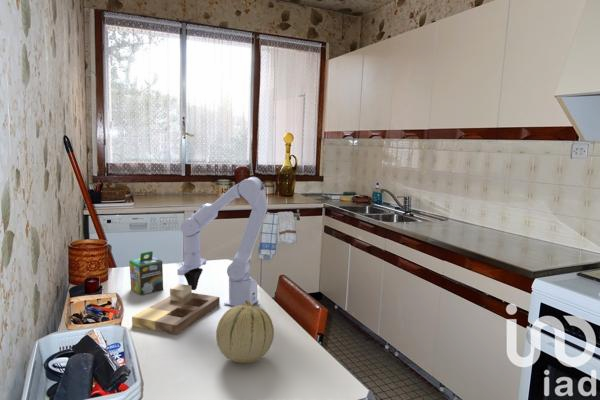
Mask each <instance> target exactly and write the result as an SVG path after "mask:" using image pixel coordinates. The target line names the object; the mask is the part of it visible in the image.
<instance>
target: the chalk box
mask: <svg viewBox="0 0 600 400" xmlns="http://www.w3.org/2000/svg"><path fill="white" fill-rule="evenodd" d="M153 253H154V252H153V251H146V252H141V254H140V258H135V259H130V260H129V261H128V262H129V278H130V289H131V291H133V292H135V293H136V294H138V295H140V296H144V295H148V294H151V293H152V294H153V293H156V292H161V291H164V271H163V260H161V259H160V258H157V257H155V256H153Z"/></svg>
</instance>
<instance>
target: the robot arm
mask: <svg viewBox="0 0 600 400" xmlns="http://www.w3.org/2000/svg"><path fill="white" fill-rule="evenodd" d="M240 198H244V200H246V201H247V203H248V204H249V205H250V207H251V212H250V215H249V217H248V220H247V223H246V225H245V229H244V233H243V234H242V237H241V240H240V244H239V246H238V249H237V251H236V253H235V255H234V258H233V259H232V262H231V263H230V264H229V265H228V267H227V269H226V273H227V276H228V300H226V301H225V302H224V303H223V304H224V305H226V306H231V307H234V306H237V305H246V304H247V303H246V302H245V301H249V302H250V303H251V305H253V306H254V304H256V303H257V302H258V301H259V299H258V281H257V280H256V279H253V278H251V275H250V273H249V271H250V270H251V267H252V263H251V262H252V261H251V259H252V257H253V255H252V254H253V251H254V248H255V245H256V242H257V239H258V236H259V234H260V231H261V227H262V225H263V223H264V220H265V216H266V214H267V211H268V207H269V203H268V198H267V194H266V187H265V185H264V182H262V180H261V179H260V178H258V177H256V176H250V177H248V178H245V179H243V180H241V181H240V182H238V183H237V184H235V185H233V186H232V187H230V188H229V189H227V190H226V191H225V192H224V193H223V194H222V195H221V196H220V197H218V198H217V199H216V200H215V201H214V202H213V203H203V204H201V205H200V206H199V209H198V210H196V211H195V212H194V213H193V212H192V213H191V214H190V215H189V218H186V219H184V220H183V221H182V223H181V224H180V231H181V233H182V235H183V239H182V240H183V242H182V243H183V262H182V263H181V267H179V268H178V269H177V275H178V276H183V277H184V278H185V280H186V282H187V285H190V286H192V291H196V290H197V288H198V285H199V284H198V283H199V280H200V277H201V275H202V273H203V268H201V267H202V266H205V265H207V258H202V256H201V255H202V254H201V253H202V252H201V231H202V229H204V228H205V226H207V225H209V224H210V223H211V222H212V221H213V220H215V219H216V218H217V217H218V216H219V215H218V214H219V211H220V210H221V209H222V208H224V207H225V206H226V205H228V204H229V203H230V202H232V201H233V200H235V199H240Z"/></svg>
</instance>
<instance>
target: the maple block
mask: <svg viewBox="0 0 600 400" xmlns="http://www.w3.org/2000/svg"><path fill="white" fill-rule="evenodd" d="M192 291H193V290H192V286H190V285H188V284H183V283H177V284H176V285H174V286H172V287H170V288H169V294H170V295H169V296H170V300H173V301H179V302H184V301H186V300H187V299H189V298H191V297H192V293H193V292H192Z"/></svg>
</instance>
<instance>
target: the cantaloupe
mask: <svg viewBox="0 0 600 400" xmlns="http://www.w3.org/2000/svg"><path fill="white" fill-rule="evenodd" d="M245 302H246V303H247V304H246V305H237V306H231V308H229V309H227V311H225V312H224V314H223V315H222V316H221V318H220V319H219V320H218V323H217V326H216V332H215V339H216V345H217V347H218V349H219V352H220V353H221V354H222V355H223V356H224V357H225V358H226V359H227V360H228V361H231V362H233V363H234V362H235V363H237V364H250V363H251V364H252V363H254V362H257V361H259V360H261V359H262V358H264V357H265V355H266V354H267V353H268V351H269V350H270V348H271V347H272V344H273V341H274V337H275V327H274V323H273V321H272V318H271V317H270V315H269V313H268V312H266V311H265V310H264V309H262V308H261V307H260V306H256V305H254V304H253V305H251V303H250V302H249V301H245Z"/></svg>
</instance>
